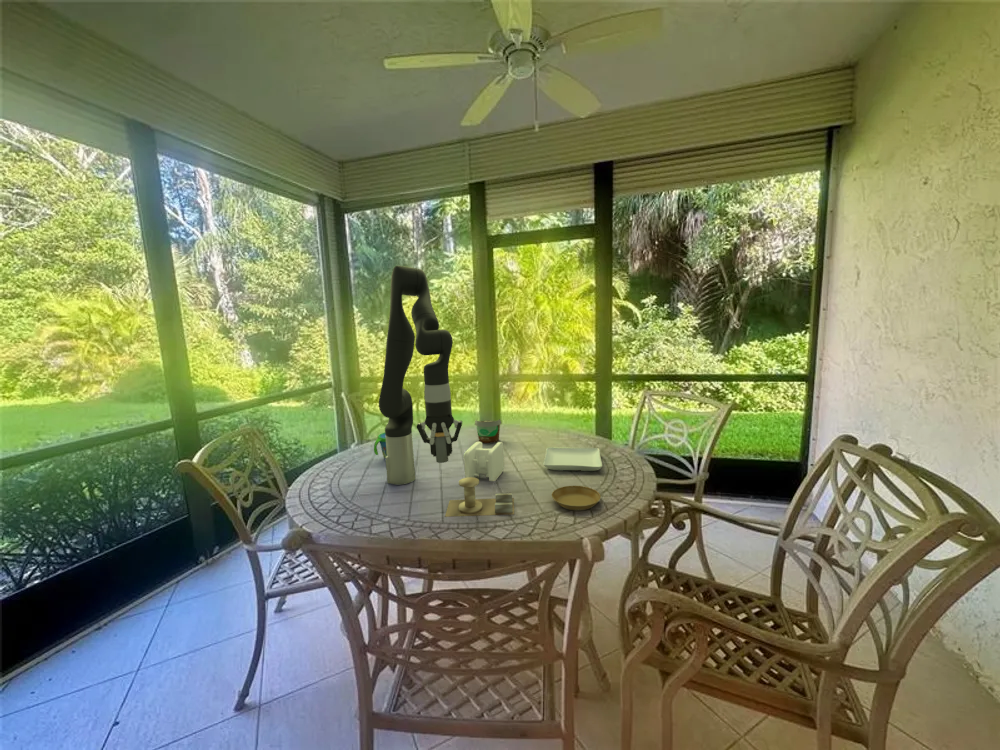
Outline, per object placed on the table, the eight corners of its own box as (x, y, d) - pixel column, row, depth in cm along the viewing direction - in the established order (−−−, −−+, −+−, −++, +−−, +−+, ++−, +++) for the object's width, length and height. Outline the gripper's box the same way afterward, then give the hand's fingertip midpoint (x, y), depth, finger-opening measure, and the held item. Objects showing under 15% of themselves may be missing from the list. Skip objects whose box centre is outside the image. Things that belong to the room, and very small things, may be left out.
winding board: (445, 520, 125) (444, 508, 125) (450, 503, 136) (449, 492, 135) (514, 518, 125) (514, 506, 124) (513, 501, 136) (513, 490, 135)
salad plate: (599, 455, 175) (599, 446, 175) (602, 475, 154) (602, 465, 154) (546, 454, 179) (546, 446, 178) (542, 473, 158) (542, 464, 158)
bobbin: (457, 513, 126) (455, 486, 125) (460, 503, 133) (458, 477, 132) (481, 513, 126) (480, 485, 125) (482, 502, 133) (481, 476, 132)
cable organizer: (493, 486, 148) (491, 453, 146) (464, 484, 151) (462, 452, 149) (505, 470, 162) (503, 440, 160) (478, 468, 165) (476, 439, 163)
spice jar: (436, 458, 132) (434, 429, 130) (450, 457, 132) (448, 429, 130) (434, 463, 127) (432, 433, 126) (448, 462, 127) (446, 433, 126)
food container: (473, 444, 196) (471, 422, 195) (475, 440, 202) (474, 419, 201) (499, 444, 194) (498, 422, 193) (502, 440, 200) (501, 419, 199)
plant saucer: (567, 489, 143) (567, 481, 143) (609, 500, 134) (609, 492, 134) (542, 506, 132) (542, 497, 132) (586, 519, 123) (586, 510, 122)
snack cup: (380, 465, 173) (378, 441, 172) (370, 459, 181) (367, 435, 180) (415, 456, 183) (413, 432, 181) (404, 450, 191) (402, 428, 190)
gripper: (463, 395, 131) (466, 450, 133) (415, 397, 130) (420, 452, 133) (461, 400, 123) (464, 458, 126) (411, 402, 123) (415, 461, 126)
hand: (441, 455), depth 129 cm, fingers closed on spice jar, 3 cm apart
